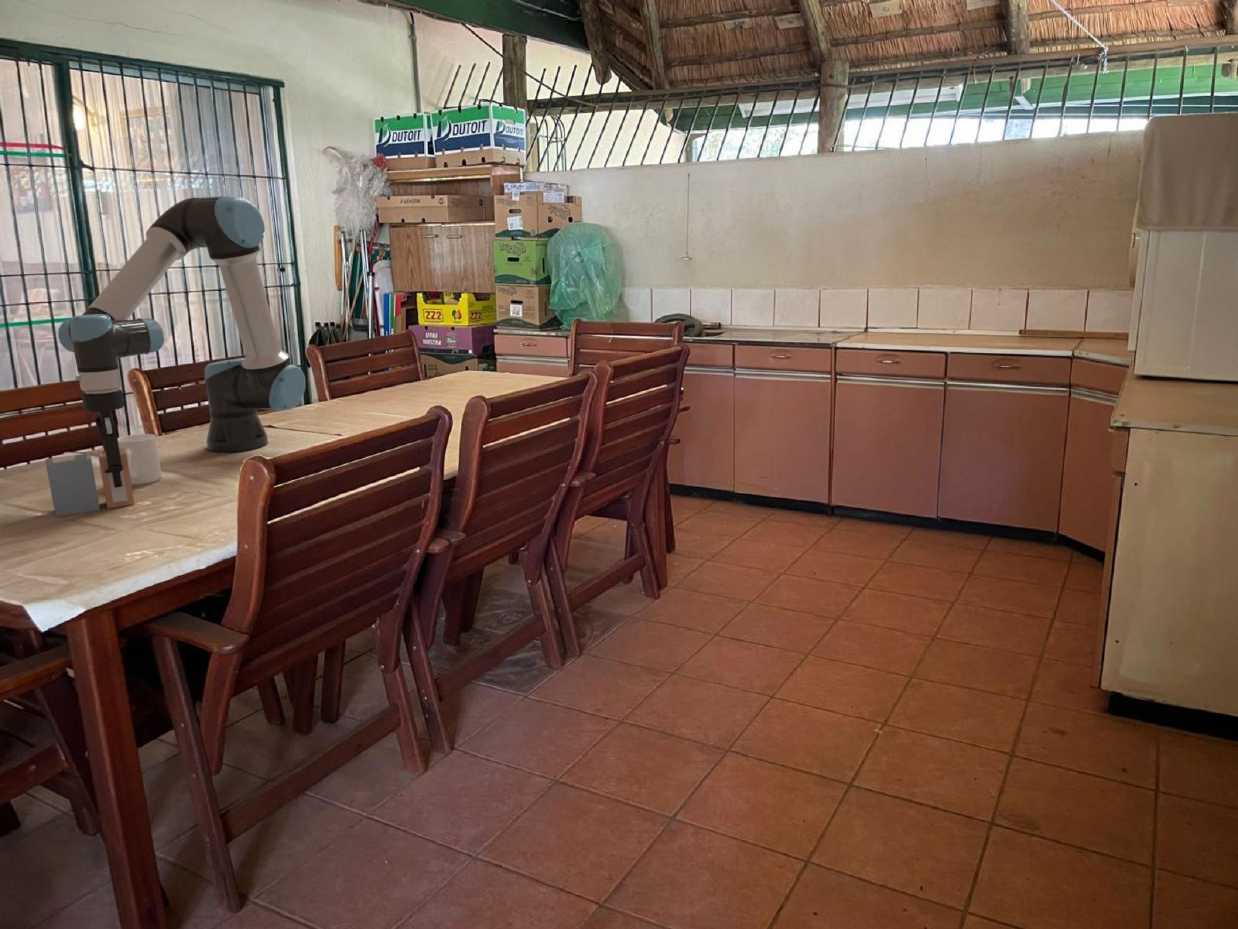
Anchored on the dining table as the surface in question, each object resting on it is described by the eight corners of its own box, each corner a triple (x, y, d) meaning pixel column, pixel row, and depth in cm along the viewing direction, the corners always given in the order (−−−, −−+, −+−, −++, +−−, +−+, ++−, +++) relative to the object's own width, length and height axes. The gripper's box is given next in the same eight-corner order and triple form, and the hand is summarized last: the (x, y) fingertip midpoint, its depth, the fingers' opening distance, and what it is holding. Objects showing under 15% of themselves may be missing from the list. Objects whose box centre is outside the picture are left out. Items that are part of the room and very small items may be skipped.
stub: (131, 497, 201) (123, 447, 198) (134, 504, 196) (126, 453, 193) (106, 501, 199) (97, 451, 196) (107, 508, 194) (99, 456, 191)
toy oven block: (98, 503, 198) (89, 452, 195) (100, 510, 193) (91, 458, 190) (55, 509, 194) (45, 458, 191) (55, 516, 189) (45, 464, 186)
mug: (149, 489, 208) (142, 444, 205) (110, 491, 207) (102, 446, 204) (167, 475, 219) (160, 432, 217) (130, 477, 218) (123, 434, 216)
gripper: (79, 386, 197) (96, 489, 203) (82, 399, 181) (101, 511, 187) (118, 382, 201) (135, 484, 207) (125, 394, 185) (142, 505, 191)
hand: (119, 497), depth 197 cm, fingers closed on stub, 6 cm apart
